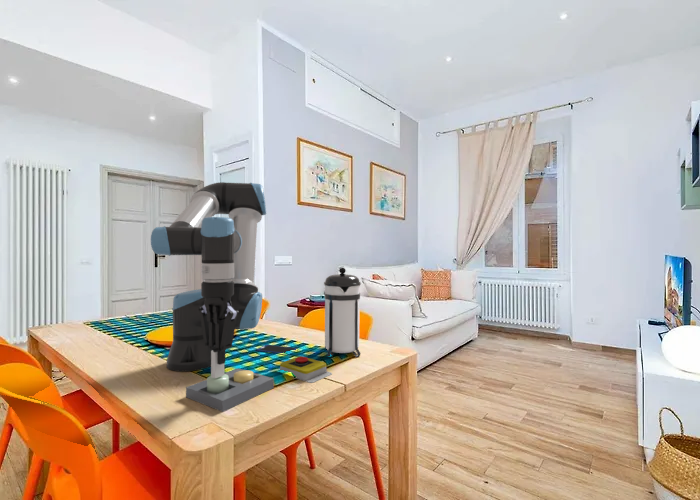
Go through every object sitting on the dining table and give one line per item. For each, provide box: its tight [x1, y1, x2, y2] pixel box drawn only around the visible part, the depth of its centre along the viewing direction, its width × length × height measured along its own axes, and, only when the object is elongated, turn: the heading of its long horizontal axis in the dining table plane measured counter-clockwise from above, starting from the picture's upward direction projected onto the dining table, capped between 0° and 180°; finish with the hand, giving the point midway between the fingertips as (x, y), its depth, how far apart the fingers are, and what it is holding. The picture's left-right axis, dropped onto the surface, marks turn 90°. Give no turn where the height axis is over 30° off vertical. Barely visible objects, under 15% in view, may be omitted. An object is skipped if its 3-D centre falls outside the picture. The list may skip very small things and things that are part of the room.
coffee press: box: [323, 266, 361, 358], centre depth 126 cm, size 17×16×30 cm
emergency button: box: [279, 355, 333, 384], centre depth 105 cm, size 9×4×15 cm
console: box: [185, 368, 275, 412], centre depth 91 cm, size 14×16×2 cm
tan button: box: [234, 369, 254, 384], centre depth 94 cm, size 5×5×3 cm
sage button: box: [206, 374, 229, 394], centre depth 88 cm, size 5×5×3 cm
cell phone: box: [255, 344, 299, 354], centre depth 127 cm, size 7×14×1 cm, turn 70°
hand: (217, 376), depth 87 cm, fingers closed
